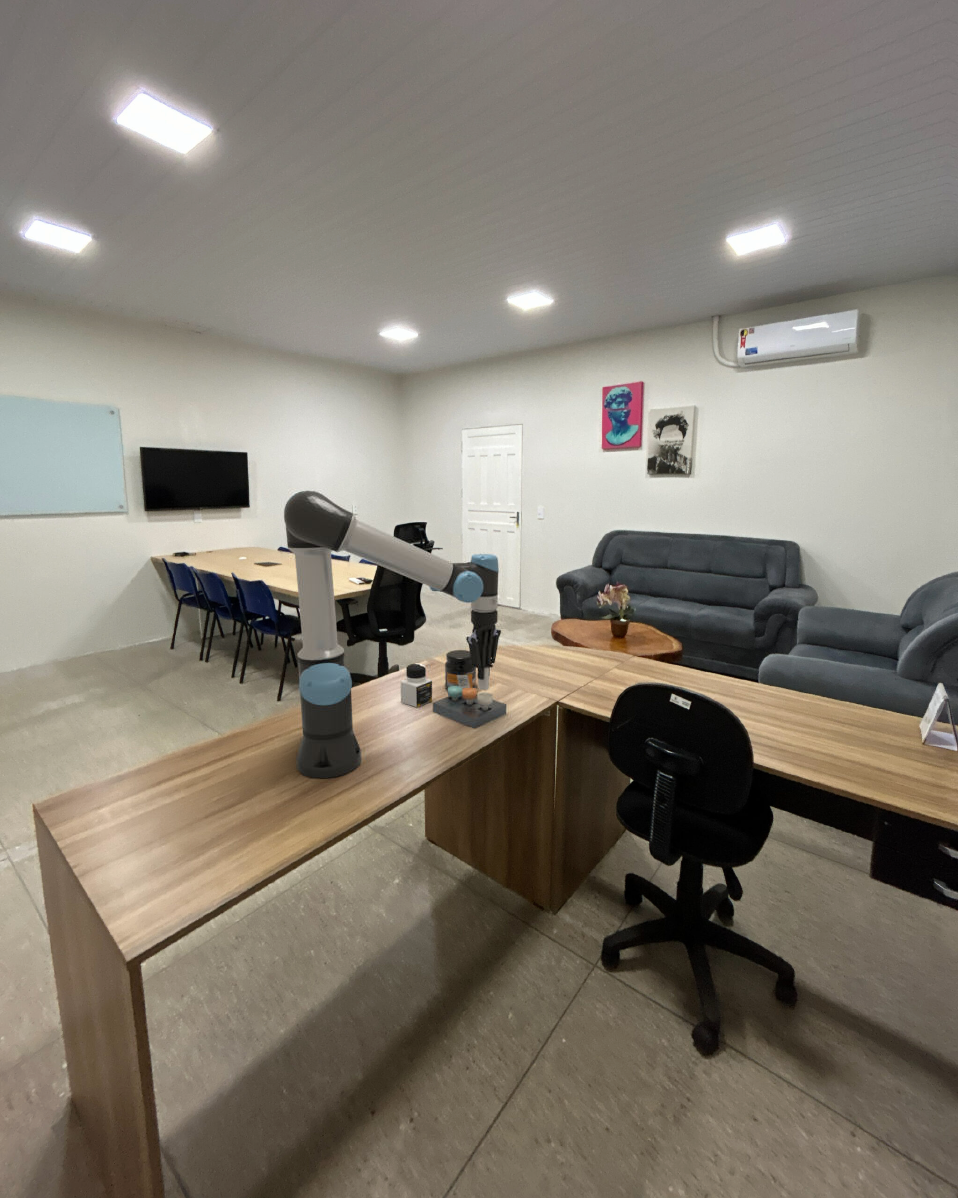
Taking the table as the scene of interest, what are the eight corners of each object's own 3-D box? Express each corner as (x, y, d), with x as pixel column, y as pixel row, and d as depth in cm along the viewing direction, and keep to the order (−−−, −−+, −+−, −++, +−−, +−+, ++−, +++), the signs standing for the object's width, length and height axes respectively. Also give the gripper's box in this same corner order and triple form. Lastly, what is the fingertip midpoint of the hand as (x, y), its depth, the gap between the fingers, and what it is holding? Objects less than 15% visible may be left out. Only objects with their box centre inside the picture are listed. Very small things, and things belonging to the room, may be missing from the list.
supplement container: (465, 696, 173) (465, 660, 170) (438, 689, 178) (438, 655, 176) (482, 686, 182) (482, 652, 179) (456, 680, 187) (456, 647, 185)
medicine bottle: (416, 708, 163) (416, 670, 161) (400, 702, 167) (399, 665, 165) (432, 701, 169) (432, 664, 166) (416, 695, 173) (415, 660, 171)
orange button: (470, 709, 157) (470, 694, 156) (459, 705, 159) (459, 690, 158) (479, 705, 160) (480, 690, 159) (469, 701, 163) (469, 686, 162)
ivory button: (485, 715, 153) (485, 699, 152) (474, 711, 156) (474, 695, 155) (495, 710, 156) (495, 695, 155) (484, 706, 159) (484, 691, 158)
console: (474, 728, 149) (475, 718, 149) (432, 711, 160) (432, 702, 160) (506, 713, 160) (506, 704, 159) (464, 698, 171) (464, 690, 170)
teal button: (455, 707, 161) (455, 692, 160) (444, 703, 163) (444, 688, 163) (465, 703, 164) (465, 688, 163) (454, 699, 167) (454, 684, 166)
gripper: (479, 615, 143) (478, 698, 148) (509, 607, 153) (507, 685, 157) (458, 611, 148) (458, 691, 152) (488, 603, 157) (487, 679, 162)
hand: (483, 688), depth 155 cm, fingers closed
